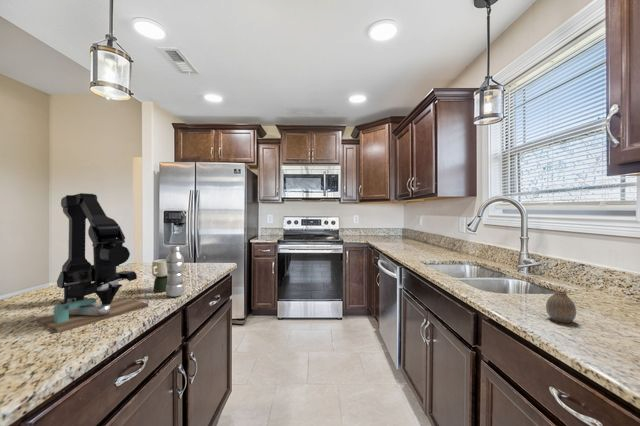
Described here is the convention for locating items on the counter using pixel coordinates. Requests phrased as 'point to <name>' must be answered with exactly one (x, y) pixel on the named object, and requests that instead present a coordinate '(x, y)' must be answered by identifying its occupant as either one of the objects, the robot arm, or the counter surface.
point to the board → (79, 320)
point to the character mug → (159, 274)
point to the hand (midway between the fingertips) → (106, 308)
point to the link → (89, 309)
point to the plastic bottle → (174, 272)
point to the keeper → (63, 310)
